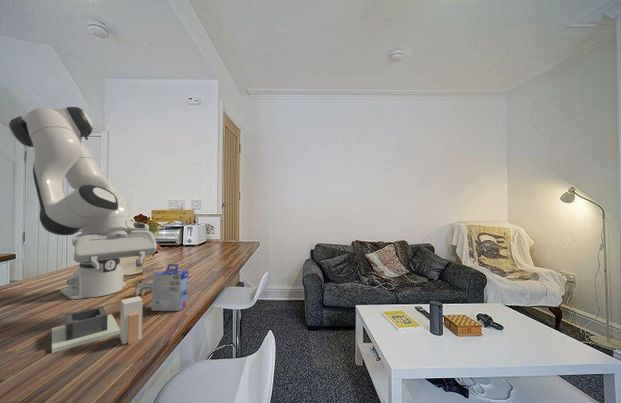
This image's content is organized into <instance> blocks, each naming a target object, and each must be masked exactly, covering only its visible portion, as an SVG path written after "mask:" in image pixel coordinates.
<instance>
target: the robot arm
mask: <svg viewBox="0 0 621 403" xmlns="http://www.w3.org/2000/svg"><path fill="white" fill-rule="evenodd" d="M8 126H9V131H10V133H11V135H12V136H13V137H14V139H15V140H16V141H18V142H19V143H20V144H22V145H23V146H24V147H25V146H26V147H29V148H33V151H34V160H33V161H34V162H33V164H32V165H33V166H32V174H33V175H32V176H33V180H34V186H35V189H36V193H37V197H38V201H39V202H38V203H39V208H40V210H39V221H40V224H41V226H42V227H43V229H44V230H46V232H49V233H50V234H52V235H57V236H72V235H75V234H76V233H77V232H79V231H80V232H81V233H80V234H78V235H76V236H74V237H72V240H71V243H72V246H74V253H73V261H75V262H76V263H78V264H79V267H78V268H77V269H76V270H75V271H74V272H73V273H72V274H71V275H70V276H69V278H68V279H66V286H67V287H63V288H61V289H60V290H59V291H60V293H61V294H62V293H63V294H62V295H63V296H65V297H66V296H67V298H68V299H70V300H78V299H85V298H86V299H89V298H90V299H91V298H96V297H103V296H107V295H112V294H115V293H117V292H120V291H122V290H123V289H124V287H125V286H127V282H125V281H124V273H123V272H124V271H123V266H121V265H120V262H121V259H123V258H124V259H125V258H132V257H138V259H136V260H135V267H136V268H139V267H143V264H144V262H143V260H144V259H145V257H146V256H150V255H154V254H155V253H156V252H157V248H158V244H157V241H156V238H155V235H154V233H152V231H150V226H149V224H148V223H144V222H143V223H141V222H139V221H134V220H131V219H130V217H131V211H130V203H129V200H127V198H125V196H124V195H123V194H122V193H120V192H118V191H117V190H116V188H115V187H114V185H112V184H111V183H110V181H109V180H108V179H107V177H105V175H104V173H103V171H102V170H101V168H100V166H99V164H98V163H97V161H96V159H95V158H94V156H93V154H92V153H91V151H90V149H88V147H87V146H86V144H85V143H84V142H83V140H82V138H84V139H85V140H86V141H88V139H89V138H88V137H90V135H91V134H92V132H93V130H94V129H93V122H92V119H91V116H90V115H88V113H86V112H85V111H84V110H83V109H82V108H80V107H78V106H67V107H66V108H65V107H62V108H48V107H39V108H34V109H32V110H30V111H29V112H28V113H27V115H24V116H22V115H21V116H16V117H15V118H12V119H11V120H10V121H9V124H8ZM64 178H65V179H66V181H67V183H68V186H70V187H71V188H72V189H73V191H71V192H69V193H68V194H67V195H65V192H64V188H63V180H64Z"/></svg>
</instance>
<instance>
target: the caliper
mask: <svg viewBox="0 0 621 403" xmlns="http://www.w3.org/2000/svg"><path fill="white" fill-rule="evenodd" d="M152 282H153V281H148V282H145V280H144V279H142V280H141V279H139V281H138V282H137V283H136V285H135V290H134V291H135V292H134V294H135V295H134V297H137V296H139V294H140V296H142V297H143V296H144V294H145V293H146V291H147V290H152Z"/></svg>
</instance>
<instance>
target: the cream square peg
mask: <svg viewBox="0 0 621 403" xmlns="http://www.w3.org/2000/svg"><path fill="white" fill-rule="evenodd" d="M143 305H144V304H143V299H142V298H141V297H140V295H138V296H134V297H129V298H124V299H121V300H120V323H119V324H120V325H119V329H120V334H119V339H120V341H121V343H122V345H125V344H128V345H131V344H134V343H139V340H141V339H143Z"/></svg>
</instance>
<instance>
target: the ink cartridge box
mask: <svg viewBox="0 0 621 403" xmlns="http://www.w3.org/2000/svg"><path fill="white" fill-rule="evenodd" d="M172 267H175V268H172ZM178 268H179V264H177V263H176V264H175V263H174V264H173V263H169V264H168V265H167V267H166V270H160V271H157V272H155V273H153V274H152V281H151V282H152V289H151V306H150V307H151V311H152V312H153V311H154V312H155V311H157V312H158V311H159V312H161V311H162V312H180V311H182V310H183V309H185V308H186V307H188V304H189V300H188V298H189V270H179V269H178Z"/></svg>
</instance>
